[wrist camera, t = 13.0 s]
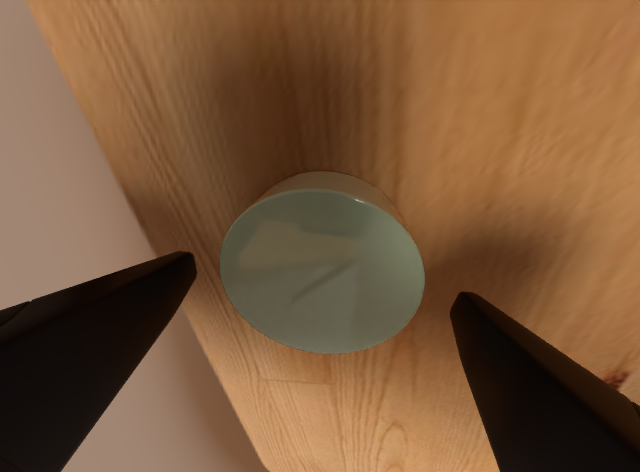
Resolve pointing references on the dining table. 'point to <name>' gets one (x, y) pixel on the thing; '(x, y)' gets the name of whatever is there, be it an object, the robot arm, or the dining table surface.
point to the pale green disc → (323, 264)
